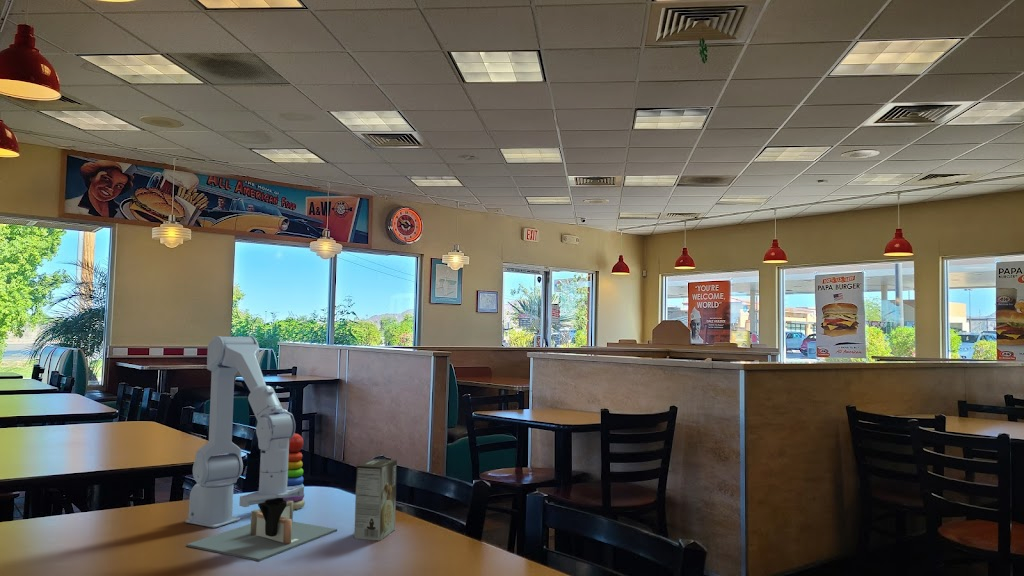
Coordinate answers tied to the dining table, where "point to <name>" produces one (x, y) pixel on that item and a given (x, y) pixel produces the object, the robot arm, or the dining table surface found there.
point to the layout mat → (258, 541)
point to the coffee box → (375, 499)
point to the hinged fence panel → (282, 529)
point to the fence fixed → (286, 513)
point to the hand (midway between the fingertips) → (271, 535)
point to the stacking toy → (295, 469)
